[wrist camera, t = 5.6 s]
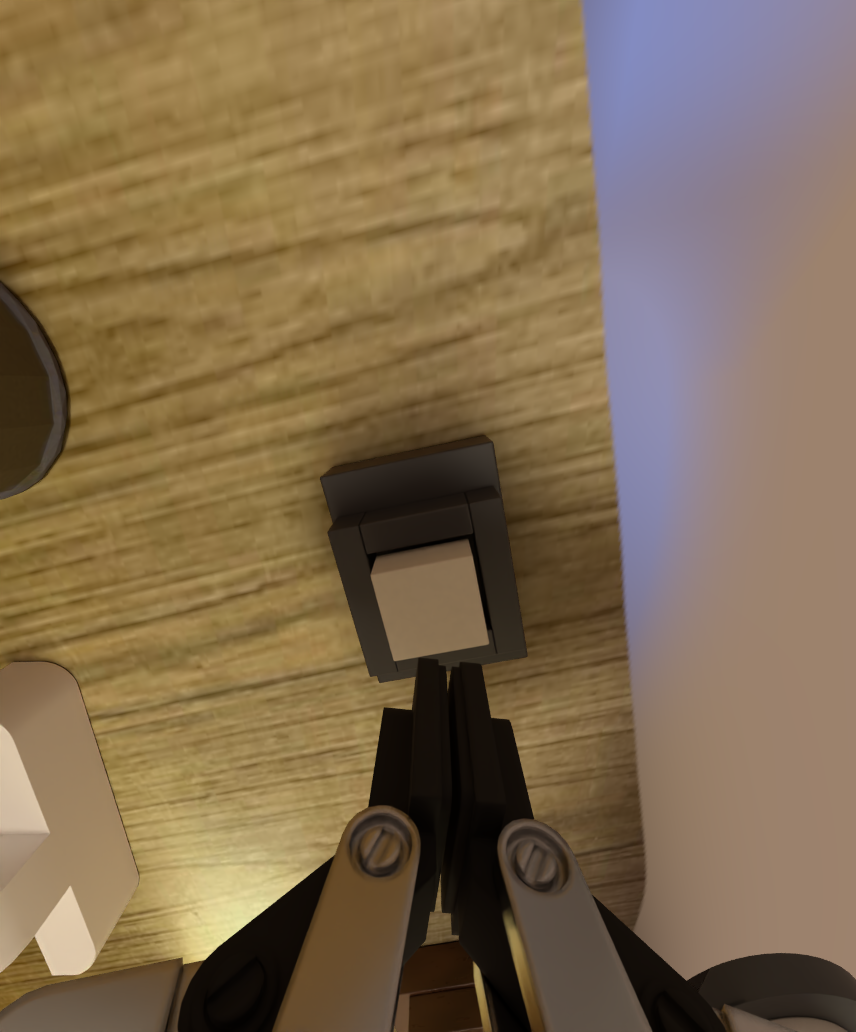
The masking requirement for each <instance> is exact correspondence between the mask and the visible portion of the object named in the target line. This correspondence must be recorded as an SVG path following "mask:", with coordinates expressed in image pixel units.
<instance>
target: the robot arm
mask: <svg viewBox="0 0 856 1032" xmlns="http://www.w3.org/2000/svg"><path fill="white" fill-rule="evenodd" d="M440 874H441V907H442V913H451V927H452V935H459V943H460V945H461V946H462V947H463V949H464V950H465V951H466V952H467V954H468V955H469V956H470V958H471V959H472V960H473V973H474V982H475V987H476V993H477V998H478V1004H479V1009H480V1015H481V1020H482V1026H483V1031H484V1032H848V1031H846V1030H845V1029H843V1028H842V1027H840V1026H839V1025H837V1024H834V1023H832V1022H829V1021H826V1020H822V1019H818V1018H813V1017H782V1018H775V1019H769V1020H766V1019H763V1018H761V1017H758V1016H756V1015H753V1014H750V1013H748V1012H745V1011H742V1010H740V1009H737V1008H734V1007H732V1006H729V1005H726V1004H724V1006H723V1008H722V1010H719V1009H716V1008H713V1007H711V1006H710V1005H709V1003H708V1002H707V1001H706V1000H705V999H704V998H703V997H702V996H701V995H700V994H699V993H698V992H697V990H696V989H695V988H694V987H693V986H691V985H690V984H689V983H688V982H687V981H686V980H685V979H684V978H683V977H682V976H680V975H679V974H678V973H677V972H676V971H675V970H674V969H673V968H672V967H671V966H670V965H668V964H667V963H666V962H665V961H664V960H663V959H662V958H661V957H660V956H659V955H657V954H656V953H655V952H654V951H653V950H652V949H651V948H650V947H649V946H648V945H647V944H646V943H644V942H643V941H642V940H641V939H640V938H639V937H638V936H637V935H636V934H635V933H633V932H632V931H631V930H630V929H629V928H628V927H627V926H626V925H625V924H624V923H623V922H621V921H620V920H619V919H618V918H617V917H616V916H615V915H614V914H613V913H612V912H611V911H609V910H608V909H607V908H606V907H605V906H604V905H603V904H602V903H601V902H600V901H598V900H597V899H596V898H595V897H594V896H593V895H592V894H591V892H590V890H589V887H588V885H587V883H586V881H585V878H584V876H583V874H582V872H581V869H580V867H579V865H578V863H577V860H576V858H575V856H574V854H573V852H572V850H571V849H570V847H569V845H568V844H567V842H566V841H565V840H564V839H563V838H562V837H561V835H560V834H559V833H558V832H557V831H555V830H554V829H552V828H551V827H549V826H548V825H547V824H545V823H542V822H539V821H537V820H534V817H533V813H532V808H531V804H530V800H529V796H528V792H527V788H526V783H525V779H524V775H523V771H522V767H521V762H520V758H519V754H518V750H517V746H516V742H515V737H514V733H513V729H512V726H511V722H510V721H509V720H507V719H497V718H491V715H490V710H489V704H488V698H487V693H486V687H485V682H484V676H483V671H482V666H481V664H480V663H470V662H460V664H459V667H453V666H452V668H451V674H450V681H449V688H448V693H447V673H446V666H444V665H439V660H438V659H431V658H421V657H418V663H417V671H416V680H415V688H414V696H413V705H412V710H405V709H395V708H385V707H384V710H383V716H382V722H381V729H380V735H379V742H378V748H377V754H376V761H375V767H374V774H373V780H372V786H371V793H370V799H369V806H368V808H366V809H364V810H362V811H361V812H359V813H357V814H356V815H355V816H354V817H353V818H352V819H351V820H350V821H349V823H348V824H347V826H346V828H345V830H344V832H343V834H342V837H341V840H340V843H339V845H338V848H337V851H336V854H335V855H334V856H333V857H332V858H330V859H329V860H328V861H327V862H325V863H324V864H323V865H322V866H320V867H319V868H318V869H316V870H315V871H314V872H313V873H311V874H310V875H309V876H308V877H306V878H305V879H304V880H303V881H301V882H300V883H299V884H297V885H296V886H295V887H294V888H292V889H291V890H290V891H289V892H287V893H286V894H285V895H284V896H282V897H281V898H280V899H278V900H277V901H276V902H275V903H273V904H272V905H271V906H270V907H268V908H267V909H266V910H265V911H263V912H262V913H261V914H259V915H258V916H257V917H256V918H254V919H253V920H252V921H251V922H249V923H248V924H247V925H246V926H244V927H243V928H242V929H241V930H239V931H238V932H237V933H235V934H234V935H233V936H232V937H230V938H229V939H228V940H227V941H225V942H224V943H223V944H222V945H220V946H219V947H218V948H217V949H216V950H215V951H214V952H213V953H212V954H211V955H210V956H209V957H208V958H207V959H206V960H203V961H198V962H193V963H189V964H184V965H183V957H182V958H178V959H173V960H168V961H163V962H158V963H153V964H148V965H143V966H138V967H134V968H129V969H124V970H119V971H114V972H109V973H104V974H99V975H94V976H90V977H85V978H80V979H75V980H70V981H65V982H60V983H55V984H51V985H46V986H44V987H41V988H39V989H36V990H33V991H31V992H28V993H26V994H24V995H23V996H21V997H20V998H19V999H17V1000H16V1001H14V1002H13V1003H11V1004H10V1005H9V1006H7V1007H6V1008H4V1009H3V1010H2V1011H1V1012H0V1032H394V1026H395V1020H396V1014H397V1007H398V1001H399V995H400V989H401V983H402V977H403V971H404V964H405V963H406V962H407V961H408V960H409V959H410V958H411V956H412V955H413V954H414V953H415V952H416V951H417V949H418V948H419V947H420V946H421V945H422V944H423V943H424V941H425V940H426V934H427V928H428V921H429V915H430V912H434V910H435V904H436V898H437V892H438V886H439V880H440Z"/></svg>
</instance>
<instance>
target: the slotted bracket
mask: <svg viewBox="0 0 856 1032" xmlns="http://www.w3.org/2000/svg"><path fill="white" fill-rule="evenodd" d="M138 883H139V875H138V871H137V868H136V865H135V862H134V859H133V855H132V852H131V849H130V846H129V843H128V840H127V837H126V834H125V831H124V827H123V824H122V821H121V818H120V815H119V812H118V809H117V806H116V802H115V799H114V796H113V793H112V790H111V787H110V784H109V781H108V777H107V774H106V771H105V768H104V765H103V762H102V759H101V756H100V752H99V749H98V746H97V743H96V740H95V737H94V734H93V731H92V728H91V724H90V721H89V718H88V715H87V712H86V709H85V706H84V703H83V699H82V696H81V693H80V690H79V687H78V684H77V682H76V680H75V679H74V677H73V676H72V675H71V674H70V673H69V672H68V671H67V670H65V669H64V668H62V667H60V666H58V665H56V664H53V663H49V662H12V663H11V664H9V665H8V666H6V667H5V668H3V669H2V670H0V973H1V972H2V971H3V970H4V969H5V968H6V967H7V966H9V965H10V964H11V963H12V962H13V961H14V960H15V959H16V957H17V956H18V955H19V954H20V953H21V952H22V951H23V949H24V948H25V947H26V946H27V945H28V944H29V943H30V941H31V940H32V939H33V937H34V936H35V938H36V940H37V942H38V944H39V947H40V949H41V951H42V953H43V956H44V958H45V960H46V962H47V964H48V967H49V969H50V971H51V973H52V975H78V974H81V973H83V972H84V971H86V970H87V969H89V968H90V967H91V965H92V964H93V963H94V961H95V959H96V957H97V956H98V954H99V952H100V950H101V949H102V947H103V945H104V944H105V942H106V940H107V938H108V937H109V935H110V933H111V932H112V930H113V928H114V926H115V925H116V923H117V921H118V919H119V918H120V916H121V914H122V913H123V911H124V909H125V907H126V906H127V904H128V902H129V901H130V899H131V897H132V895H133V894H134V892H135V890H136V888H137V886H138Z"/></svg>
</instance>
